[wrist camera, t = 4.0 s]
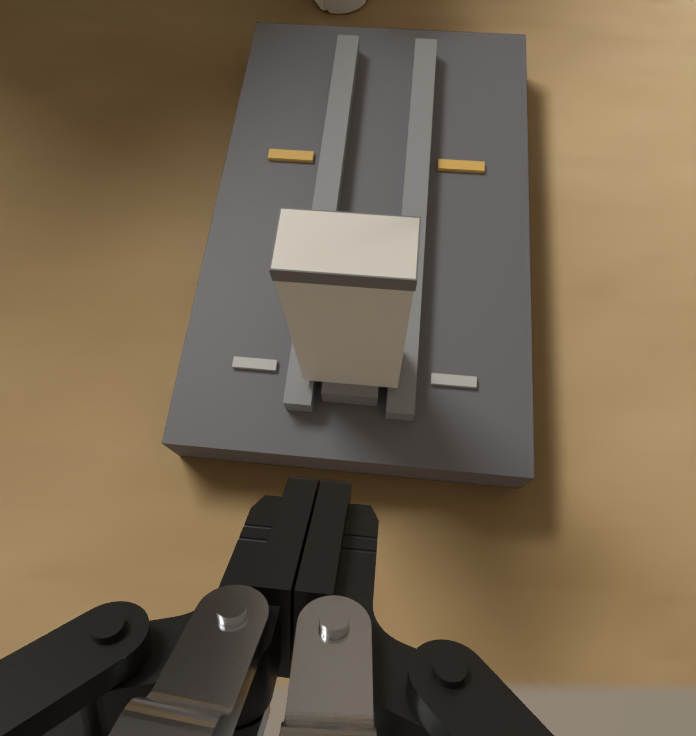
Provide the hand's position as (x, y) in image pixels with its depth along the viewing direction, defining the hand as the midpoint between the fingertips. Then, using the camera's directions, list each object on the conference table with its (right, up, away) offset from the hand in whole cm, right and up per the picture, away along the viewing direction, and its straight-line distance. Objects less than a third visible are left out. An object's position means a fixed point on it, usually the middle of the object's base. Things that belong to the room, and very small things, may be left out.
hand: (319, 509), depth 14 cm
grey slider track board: (+2, +11, +17) cm, 20 cm away
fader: (+1, +3, +12) cm, 12 cm away
